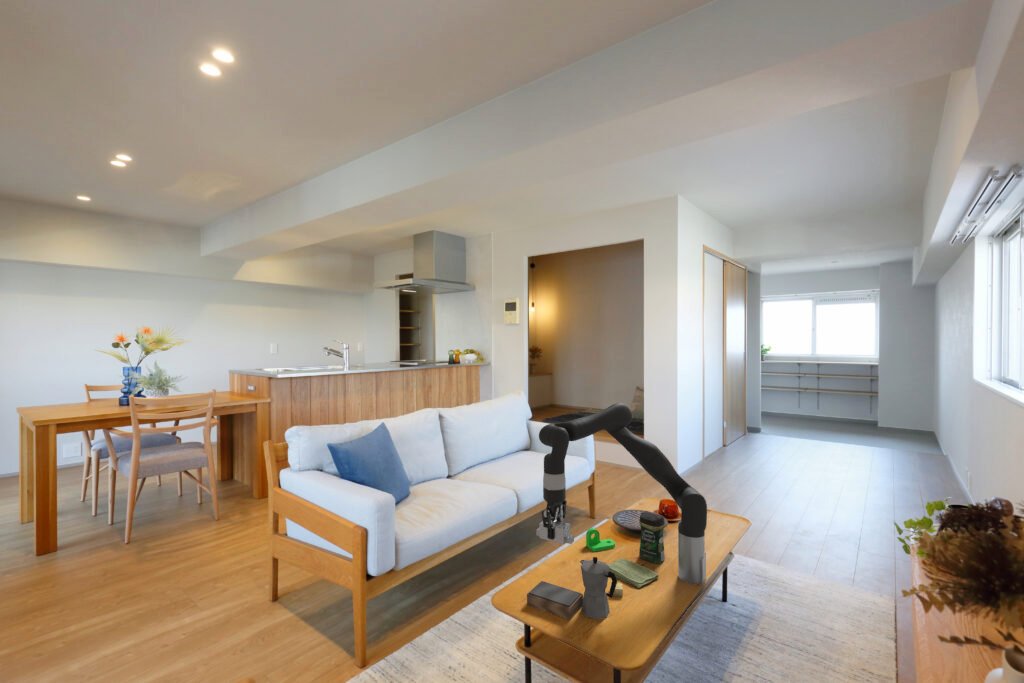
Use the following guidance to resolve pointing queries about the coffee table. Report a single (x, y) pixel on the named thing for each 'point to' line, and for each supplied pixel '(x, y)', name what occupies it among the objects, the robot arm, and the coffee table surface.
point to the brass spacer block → (618, 590)
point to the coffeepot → (596, 588)
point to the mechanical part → (597, 541)
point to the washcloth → (632, 572)
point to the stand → (555, 600)
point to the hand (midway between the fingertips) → (554, 535)
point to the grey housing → (556, 532)
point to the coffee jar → (652, 537)
